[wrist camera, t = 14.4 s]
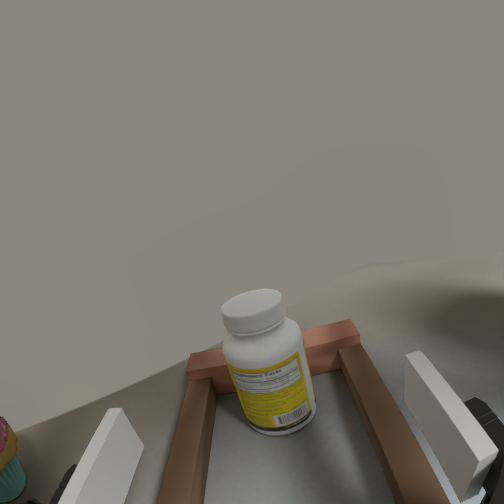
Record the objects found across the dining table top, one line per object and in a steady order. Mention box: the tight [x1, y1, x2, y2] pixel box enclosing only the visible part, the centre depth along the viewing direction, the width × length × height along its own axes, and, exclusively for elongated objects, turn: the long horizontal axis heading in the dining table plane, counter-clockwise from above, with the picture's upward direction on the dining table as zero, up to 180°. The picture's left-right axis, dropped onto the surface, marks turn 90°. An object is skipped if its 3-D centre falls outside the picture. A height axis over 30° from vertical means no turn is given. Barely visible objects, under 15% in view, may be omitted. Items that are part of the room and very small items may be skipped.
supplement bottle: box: [221, 289, 316, 436], centre depth 22 cm, size 5×5×10 cm
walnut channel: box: [157, 319, 450, 504], centre depth 19 cm, size 15×21×3 cm
